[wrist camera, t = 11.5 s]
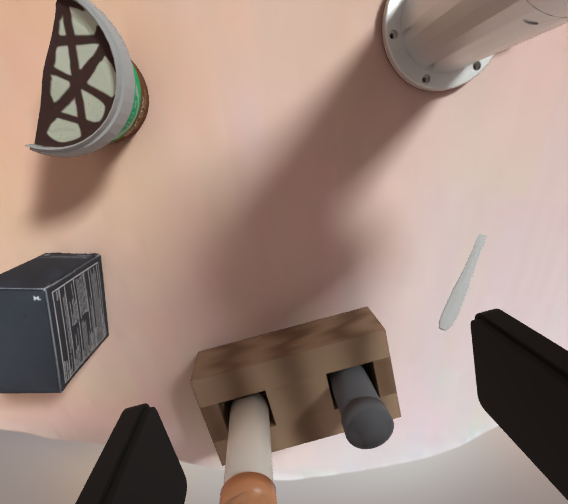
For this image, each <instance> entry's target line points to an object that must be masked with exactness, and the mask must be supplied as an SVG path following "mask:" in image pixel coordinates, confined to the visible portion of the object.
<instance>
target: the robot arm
mask: <svg viewBox="0 0 568 504" xmlns="http://www.w3.org/2000/svg"><path fill="white" fill-rule="evenodd" d="M566 23H568V0H387V1H386V4H385V8H384V13H383V20H382V35H383V44H384V47H385V51H386V54H387V57H388V59H389V61H390V63H391V65H392V67H393V68H394V69H395V71H396V72H397V73H398V75H399V76H400V77H402V78H403V79H404V80H405V81H406V82H407V83H409V84H411V85H413V86H414V87H416V88H419V89H423V90H426V91H444V90H449V89H452V88H456V87H458V86H461V85H463V84H465V83H467V82H469V81H470V80H471V79H473V78H474V77H476V76H477V75H478V74H479V73H480V72H481V71H482V70H483V69H484V68H485V67H486V66H487V65H488V63H489V62H490V60H491V59H492V58H493V56H494V55H495V54H496V53H498V52H501V51H503V50H505V49H508V48H510V47H512V46H515V45H517V44H519V43H522V42H524V41H526V40H529V39H531V38H533V37H536V36H538V35H540V34H543V33H545V32H547V31H549V30H552V29H554V28H556V27H559V26H561V25H563V24H566ZM389 35H391V36H392V39H391V38H390V36H389ZM422 78H423V79H424V83H423V81H422ZM471 334H472V344H473V354H474V364H475V374H476V384H477V394H478V399H479V401H480V404H481V405H482V407H483V408H484V410H485V411H486V412H487V413H488V414H489V415H490V416H491V417H492V419H493V420H494V421H495V422H496V423H497V424H498V425H499V426H500V427H501V428H502V429H503V430H504V432H505V433H507V435H508V436H509V437H510V438H511V439H512V440H513V441H514V442H515V444H516V445H517V446H518V447H519V448H520V449H521V450H522V451H523V452H524V453H525V454H526V455H527V457H528V458H530V460H531V461H532V462H533V463H534V464H535V465H536V466H537V467H538V469H539V470H540V471H541V472H542V473H543V474H544V475H545V476H546V477H547V478H548V479H549V481H550V482H551V483H552V484H553V485H554V486H555V487H556V488H557V489H558V490H559V491H560V492H561V493H562V495H563V496H564V497H565V498H566V499H567V500H568V351H567V350H565V349H564V348H562V347H560V346H559V345H557V344H556V343H554V342H552V341H551V340H549V339H547V338H546V337H544V336H543V335H541V334H539V333H538V332H536V331H534V330H533V329H531V328H529V327H528V326H526V325H525V324H523V323H521V322H520V321H518V320H516V319H515V318H513V317H512V316H510V315H508V314H507V313H505V312H503V311H502V310H500V309H493V310H489V311H485V312H481V313H478V314H476V316H475V320H472V321H471ZM186 491H187V482H186V477H185V474H184V472H183V470H182V467H181V465H180V463H179V460H178V458H177V456H176V453H175V451H174V449H173V446H172V444H171V442H170V440H169V437H168V435H167V433H166V430H165V428H164V426H163V423H162V421H161V419H160V416H159V414H158V412H157V410H156V408H155V407H150V406H149V405H148V404H141V405H137V406H134V407H130V408H127V409H125V410H124V411H123V412H122V414H121V416H120V418H119V420H118V422H117V424H116V426H115V428H114V430H113V432H112V434H111V435H110V437H109V439H108V441H107V443H106V445H105V447H104V449H103V451H102V453H101V455H100V457H99V459H98V461H97V463H96V465H95V467H94V468H93V470H92V473H91V474H90V476H89V478H88V480H87V482H86V484H85V486H84V488H83V490H82V492H81V494H80V496H79V498H78V500H77V502H76V503H75V504H184V502H185V497H186Z"/></svg>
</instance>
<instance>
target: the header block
mask: <svg viewBox="0 0 568 504" xmlns="http://www.w3.org/2000/svg"><path fill="white" fill-rule="evenodd" d="M361 364H364V367H363V368H364V370H365V372H366V374H367V376H368V378H369V379H370V381H371V383H372V385H373V387H374V389H375V391H376V393H377V395H378V397H379V398H380V400H381V401H382V402H383V403H384V404H385V406H386V407H387V409H388V411H389V413H390V415H391V417H392V419H395V418H398V417H401V413H400V408H399V402H398V397H397V391H396V386H395V380H394V375H393V369H392V364H391V358H390V353H389V347H388V342H387V336H386V331H385V329H384V327H383V326H382V325H381V323H380V322H379V321H378V320H377V318H376V317H375V316H374V314H373V313H372V312H371V310H370V309H369V308H368V307H364V308H360V309H357V310H353V311H349V312H346V313H342V314H338V315H334V316H331V317H327V318H323V319H319V320H316V321H312V322H308V323H305V324H301V325H297V326H293V327H290V328H286V329H282V330H278V331H275V332H271V333H267V334H264V335H260V336H256V337H252V338H249V339H245V340H241V341H238V342H234V343H230V344H226V345H223V346H219V347H215V348H211V349H208V350H204V351H200V352H198V356H197V359H196V363H195V367H194V370H193V374H192V377H191V381H190V384H191V386H192V389H193V391H194V394H195V396H196V399H197V402H198V404H199V407H200V409H201V412H202V415H203V417H204V420H205V422H206V425H207V427H208V430H209V433H210V435H211V438H212V440H213V443H214V446H215V448H216V451H217V453H218V456H219V458H220V461H221V464H222V466H223V465H225V464H226V453H227V442H228V431H229V420H230V409H231V404H232V402H233V400H232V399H236V398H239V397H243V396H247V395H251V394H254V393H258V392H262V391H266V394H262V396H263V397H264V398H265V399H266V400H267V402H268V406H269V421H270V438H271V452H274V451H278V450H282V449H285V448H289V447H293V446H296V445H300V444H303V443H307V442H311V441H314V440H318V439H322V438H325V437H329V436H333V435H336V434H340V433H344V429H343V426H342V423H341V414H340V411H339V408H338V405H337V402H336V399H335V396H334V394H333V391H332V388H331V385H330V382H329V379H328V377H326V374H328V373H332V372H335V371H339V370H343V369H346V368H350V367H354V366H357V365H361Z"/></svg>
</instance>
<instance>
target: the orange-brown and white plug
mask: <svg viewBox="0 0 568 504" xmlns="http://www.w3.org/2000/svg"><path fill="white" fill-rule="evenodd" d="M220 504H277V499H276V487H275V485H274V483H273V470H272V454H271V438H270V421H269V406H268V402H267V400H266V399H265V398H264V397H263V396H262V395H260V394H257V393H254V394H251V395H247V396H243V397H239V398H236V399H234V401H233V402H232V404H231V409H230V420H229V431H228V442H227V453H226V464H225V476H224V485H223V487H222V489H221V494H220Z"/></svg>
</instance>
